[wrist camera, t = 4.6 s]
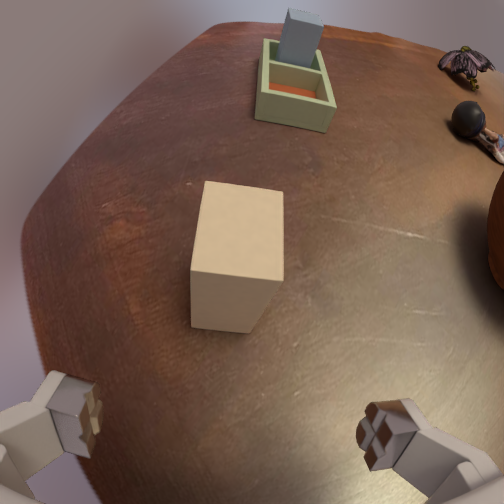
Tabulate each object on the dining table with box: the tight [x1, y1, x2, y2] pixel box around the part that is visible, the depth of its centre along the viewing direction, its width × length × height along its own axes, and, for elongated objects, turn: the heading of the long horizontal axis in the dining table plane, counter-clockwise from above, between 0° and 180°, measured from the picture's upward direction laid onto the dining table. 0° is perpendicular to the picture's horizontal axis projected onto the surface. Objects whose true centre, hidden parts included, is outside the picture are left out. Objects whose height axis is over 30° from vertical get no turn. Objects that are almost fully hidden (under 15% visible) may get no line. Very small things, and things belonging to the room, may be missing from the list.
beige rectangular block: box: [190, 181, 284, 334], centre depth 19 cm, size 4×5×9 cm
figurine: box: [452, 101, 504, 164], centre depth 40 cm, size 8×7×18 cm
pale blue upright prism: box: [275, 8, 324, 69], centre depth 34 cm, size 4×5×9 cm
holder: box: [255, 38, 337, 133], centre depth 35 cm, size 8×15×4 cm, turn 177°
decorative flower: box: [438, 46, 494, 91], centre depth 55 cm, size 15×12×15 cm
